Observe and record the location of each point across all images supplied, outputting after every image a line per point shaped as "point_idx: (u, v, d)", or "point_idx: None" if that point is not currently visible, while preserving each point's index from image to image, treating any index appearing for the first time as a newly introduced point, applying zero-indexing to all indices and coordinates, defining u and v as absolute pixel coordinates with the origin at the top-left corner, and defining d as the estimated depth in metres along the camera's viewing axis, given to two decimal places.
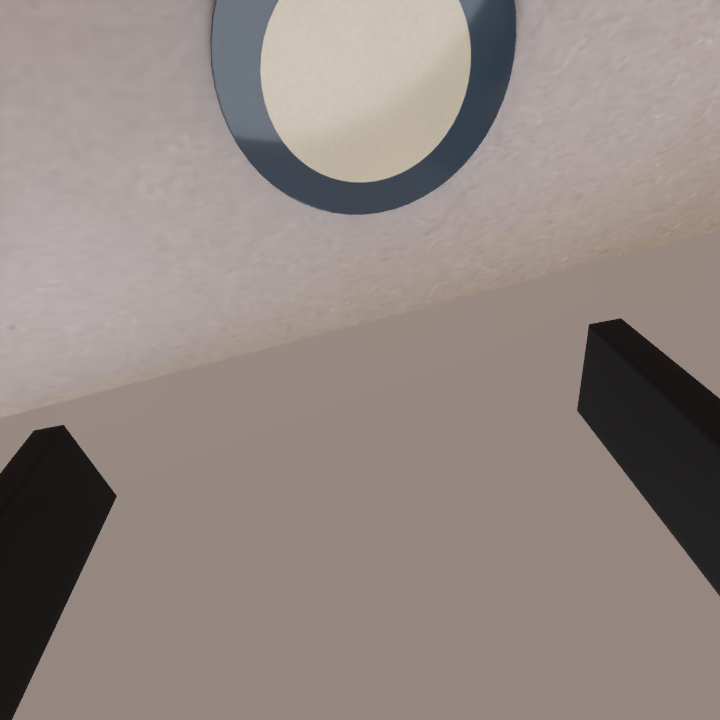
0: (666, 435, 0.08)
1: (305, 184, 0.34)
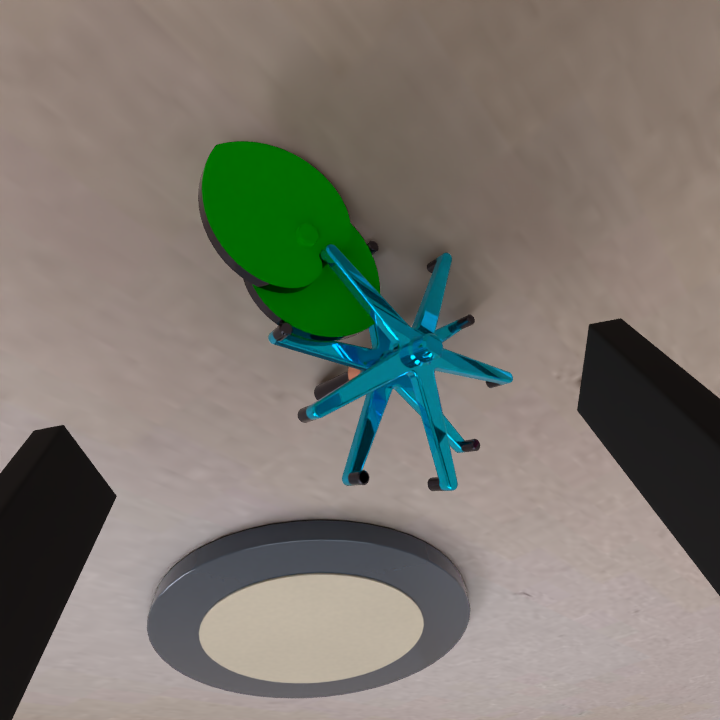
0: (666, 435, 0.08)
1: (189, 658, 0.28)
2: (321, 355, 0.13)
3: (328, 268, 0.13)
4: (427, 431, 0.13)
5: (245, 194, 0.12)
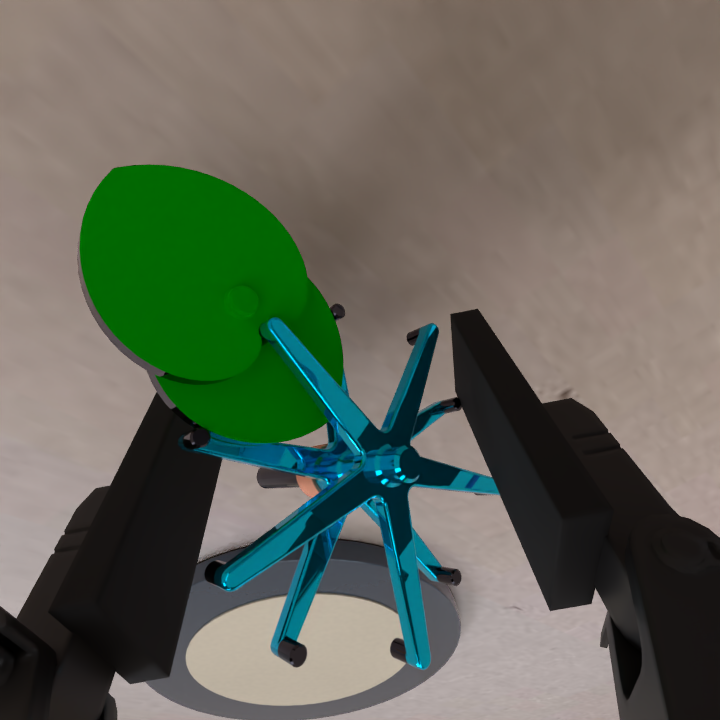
0: (486, 405, 0.10)
1: (176, 684, 0.28)
2: (254, 464, 0.09)
3: None
4: (393, 581, 0.09)
5: (152, 242, 0.08)
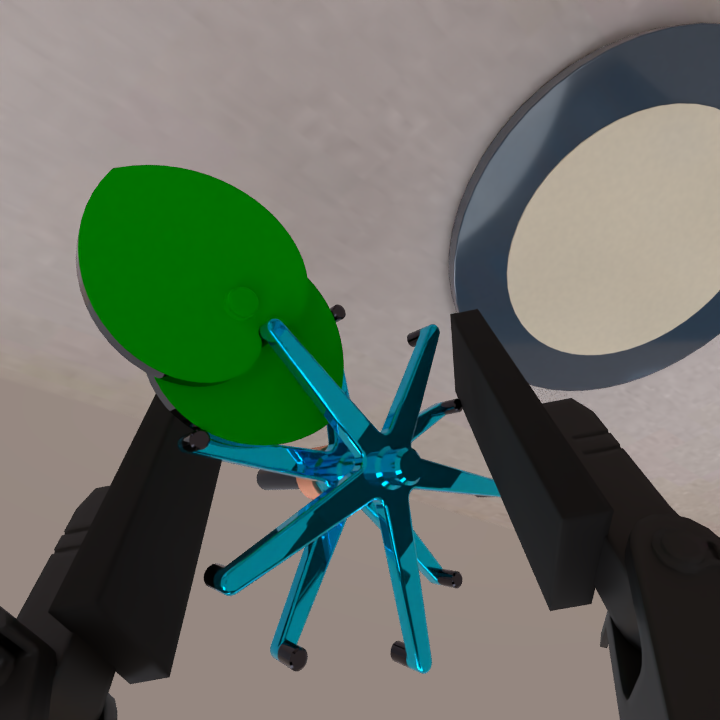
0: (486, 405, 0.10)
1: (482, 285, 0.25)
2: (254, 466, 0.09)
3: None
4: (394, 584, 0.09)
5: (152, 242, 0.08)
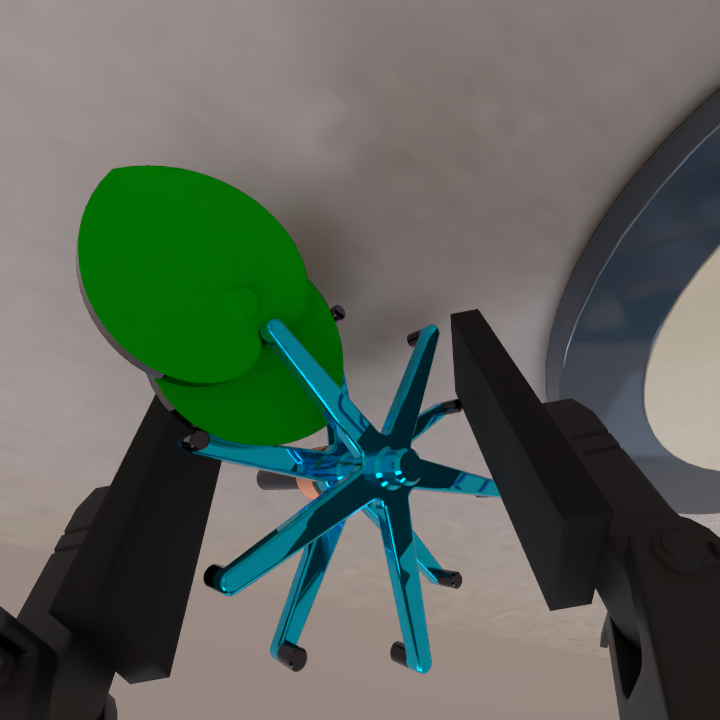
0: (486, 405, 0.10)
1: (604, 384, 0.15)
2: (254, 467, 0.09)
3: None
4: (394, 584, 0.09)
5: (151, 243, 0.08)
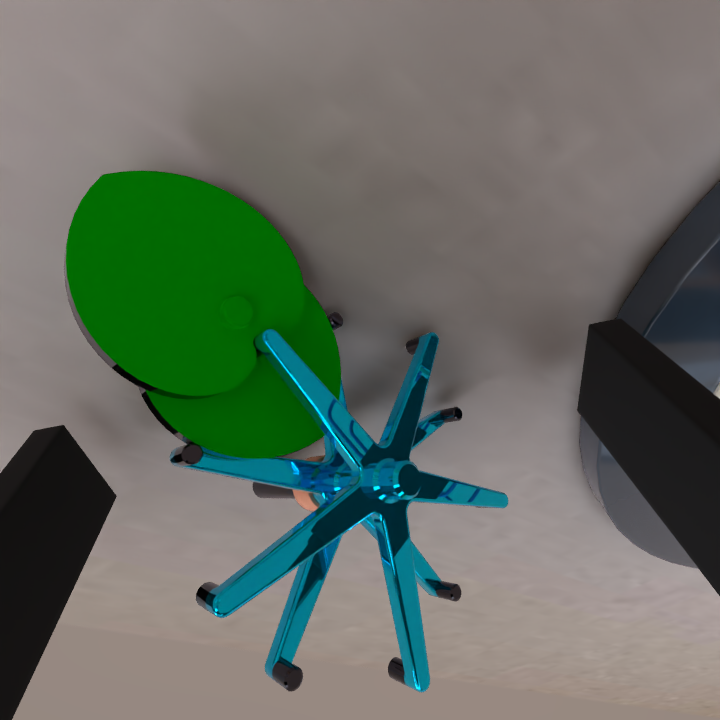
0: (666, 435, 0.08)
1: None
2: (249, 479, 0.09)
3: None
4: (391, 600, 0.09)
5: (143, 251, 0.08)
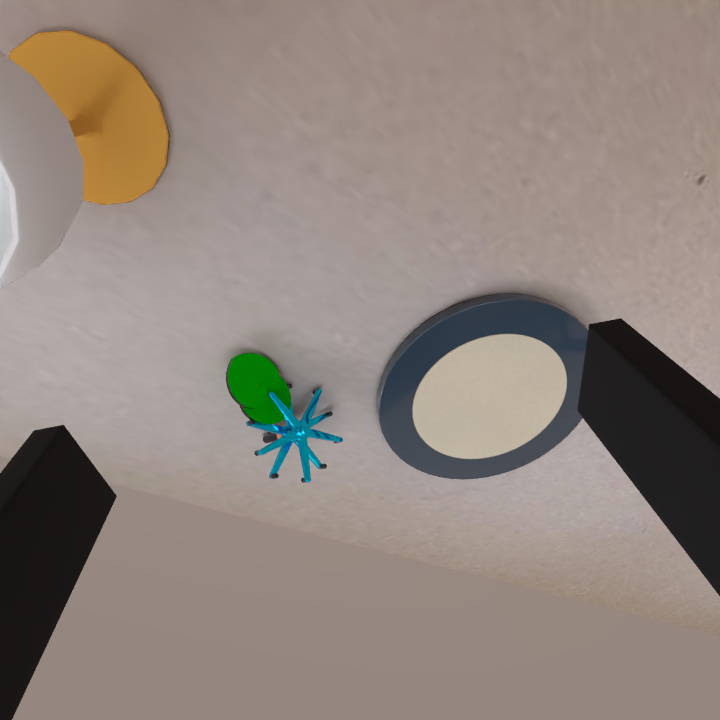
0: (666, 435, 0.08)
1: (398, 423, 0.40)
2: (265, 429, 0.35)
3: None
4: (301, 460, 0.35)
5: (242, 374, 0.34)
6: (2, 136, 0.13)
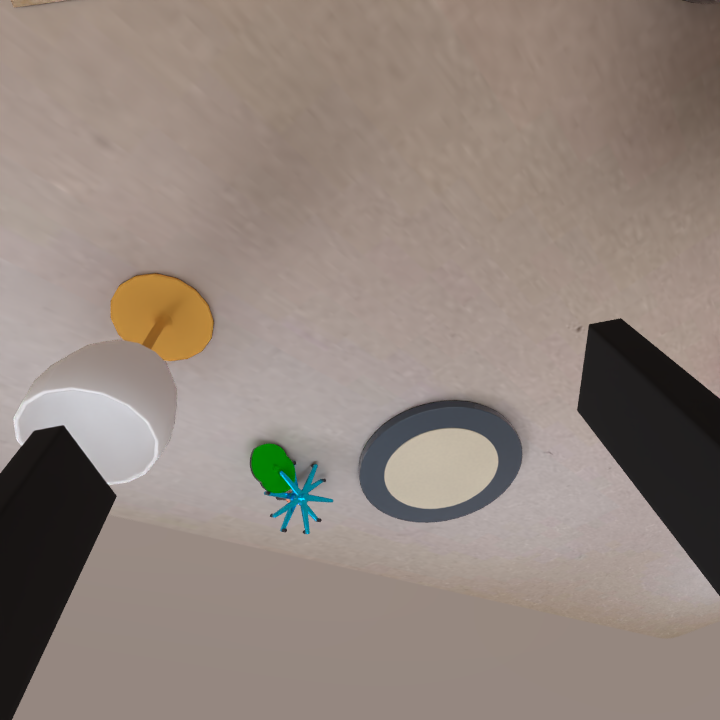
0: (666, 435, 0.08)
1: (374, 486, 0.54)
2: (277, 496, 0.50)
3: None
4: (303, 518, 0.50)
5: (261, 460, 0.48)
6: (154, 420, 0.27)
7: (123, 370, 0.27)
